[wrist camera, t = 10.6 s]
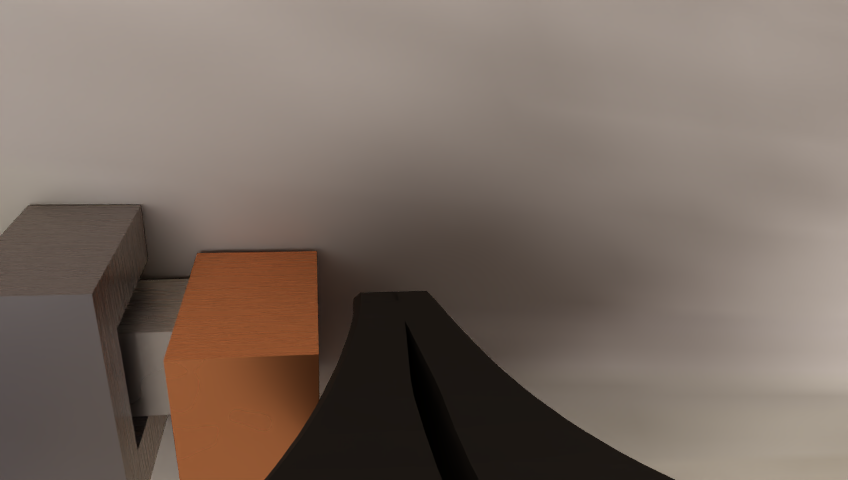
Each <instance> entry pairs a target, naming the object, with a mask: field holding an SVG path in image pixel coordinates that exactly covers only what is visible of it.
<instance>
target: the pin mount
mask: <svg viewBox="0 0 848 480" xmlns="http://www.w3.org/2000/svg"><path fill="white" fill-rule="evenodd" d="M147 260H148V255H147V247H146V240H145V233H144V226H143V219H142V211H141V205H47V206H27V207H26V208H25V209H24V211H23V212H22V213H21V214H20V215H19V216H18V217H17V218H16V219H15V220H14V222H13V223H12V224H11V225H10V226H9V227H8V228H7V229H6V230H5V231H4V233H3V234H2V235H1V236H0V480H150V479H151V475H152V471H153V468H154V464H155V460H156V457H157V453H158V449H159V446H160V442H161V438H162V435H163V431H164V427H165V424H166V420H167V416H168V415H153V416H134V417H132V414H131V408H130V403H129V397H128V391H127V385H126V379H125V373H124V368H123V362H122V356H121V350H120V344H119V338H118V333H117V328H118V325H119V323H120V321H121V319H122V316H123V314H124V312H125V310H126V307H127V305H128V303H129V301H130V298H131V296H132V294H133V292H134V289H135V287H136V285H137V283H138V281H139V278H140V276H141V274H142V272H143V269H144V267H145V265H146V263H147Z"/></svg>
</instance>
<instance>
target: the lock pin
mask: <svg viewBox="0 0 848 480" xmlns="http://www.w3.org/2000/svg"><path fill="white" fill-rule="evenodd" d="M117 333H118V338H119V344H120V350H121V356H122V362H123V368H124V373H125V379H126V385H127V391H128V397H129V403H130V408H131V414H132V417H134V416H153V415H171V420H172V427H173V434H174V441H175V449H176V456H177V463H178V470H179V478H180V480H264V479H265V478H266V477H267V476H268V475H269V473H270V472H271V471H272V470H273V468H274V467H275V466H276V464H277V463H278V462H279V461H280V459H281V458H282V457H283V455H284V454H285V452H286V451H287V450H288V448H289V447H290V445H291V444H292V443H293V441H294V440H295V439H296V437H297V436H298V434H299V433H300V431H301V430H302V428H303V427H304V425H305V423H306V422H307V420H308V419H309V417H310V416H311V414H312V412H313V410H314V409H315V407H316V405H317V404H318V402H319V345H318V293H317V251H301V252H238V253H197V256H196V259H195V262H194V265H193V268H192V271H191V275H190V278H189V279H163V280H139V281H138V283H137V285H136V287H135V289H134V292H133V294H132V296H131V298H130V301H129V303H128V305H127V307H126V310H125V312H124V314H123V316H122V319H121V321H120V323H119V325H118V328H117Z"/></svg>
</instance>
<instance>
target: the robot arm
mask: <svg viewBox="0 0 848 480" xmlns="http://www.w3.org/2000/svg"><path fill="white" fill-rule="evenodd" d="M264 480H675V479H673V478H670V477H668V476H666V475H664V474H662V473H660V472H658V471H656V470H654V469H652V468H650V467H648V466H646V465H644V464H642V463H640V462H638V461H636V460H634V459H632V458H630V457H629V456H627V455H625V454H623V453H621V452H619V451H617V450H616V449H614V448H612V447H611V446H609V445H607V444H605V443H604V442H602V441H600V440H599V439H597V438H595V437H594V436H592V435H590V434H589V433H587V432H585V431H584V430H582V429H580V428H579V427H577V426H576V425H574V424H573V423H571V422H570V421H568V420H567V419H565V418H564V417H562V416H561V415H560V414H558V413H557V412H555V411H554V410H553V409H551V408H550V407H548V406H547V405H546V404H544V403H543V402H541V401H540V400H539V399H537V398H536V397H535V396H533V395H532V394H531V393H530V392H528V391H527V390H526V389H524V388H523V387H522V386H521V385H520V384H518V383H517V382H516V381H515V380H514V379H513V378H511V377H510V376H509V375H508V374H507V373H506V372H504V371H503V370H502V369H501V368H500V367H499V366H498V365H497V364H495V363H494V362H493V361H492V360H491V359H490V358H489V357H488V356H487V355H486V354H485V353H484V352H483V351H482V350H481V349H480V348H479V347H478V346H477V345H476V344H475V343H474V342H473V341H472V340H471V339H470V338H469V337H468V336H467V335H466V334H465V333H464V331H463V330H462V329H461V328H460V327H459V326H458V325H457V324H456V323H455V322H454V321H453V320H452V318H451V317H450V316H449V315H448V314H447V313H446V312H445V311H444V309H443V308H442V307H441V306H440V305H439V304H438V303H437V301H436V300H435V299H434V298H433V297H432V296H431V295H430V294H429V293H428V292H427V291H409V292H369V293H360V294H358V295H357V296H356V297H355V298H354V303H353V319H352V323H351V327H350V330H349V334H348V337H347V340H346V342H345V345H344V348H343V351H342V353H341V356H340V359H339V361H338V363H337V366H336V368H335V370H334V372H333V374H332V376H331V378H330V380H329V382H328V384H327V386H326V388H325V391H324V393H323V394H322V396H321V398H320V400H319V402H318V404H317V405H316V407H315V409H314V410H313V412H312V414H311V416H310V417H309V419H308V420H307V422H306V423H305V425H304V427H303V428H302V430H301V431H300V433H299V434H298V436H297V437H296V439H295V440H294V441H293V443H292V444H291V445H290V447H289V448H288V450H287V451H286V452H285V454H284V455H283V457H282V458H281V459H280V461H279V462H278V463H277V464H276V466H275V467H274V468H273V470H272V471H271V472H270V473H269V475H268V476H267V477H266V478H265V479H264Z"/></svg>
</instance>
